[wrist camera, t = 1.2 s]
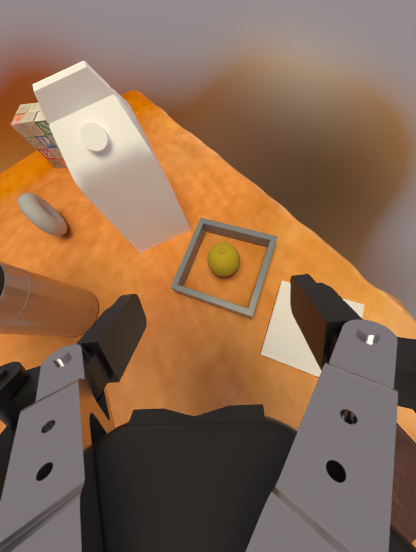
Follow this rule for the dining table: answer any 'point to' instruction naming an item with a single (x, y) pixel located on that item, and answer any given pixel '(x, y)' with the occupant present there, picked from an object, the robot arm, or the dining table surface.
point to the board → (291, 335)
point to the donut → (42, 214)
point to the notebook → (404, 485)
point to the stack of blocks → (38, 132)
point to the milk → (110, 156)
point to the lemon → (223, 259)
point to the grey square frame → (232, 233)
